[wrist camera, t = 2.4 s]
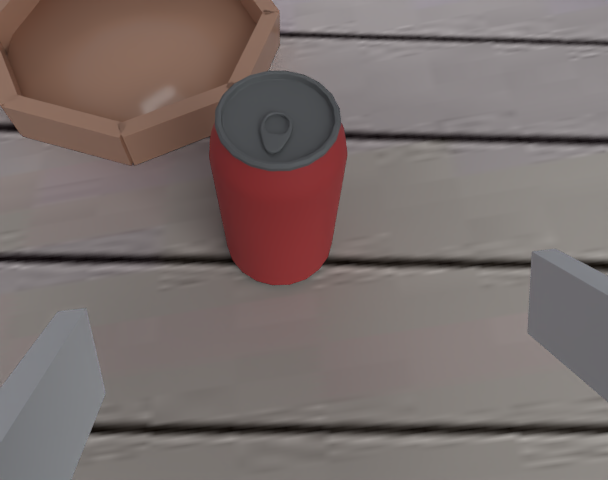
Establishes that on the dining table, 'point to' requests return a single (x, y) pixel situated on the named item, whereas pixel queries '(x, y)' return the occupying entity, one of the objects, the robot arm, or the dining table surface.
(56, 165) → the dining table surface
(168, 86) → the terracotta saucer
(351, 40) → the dining table surface
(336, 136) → the beer can
